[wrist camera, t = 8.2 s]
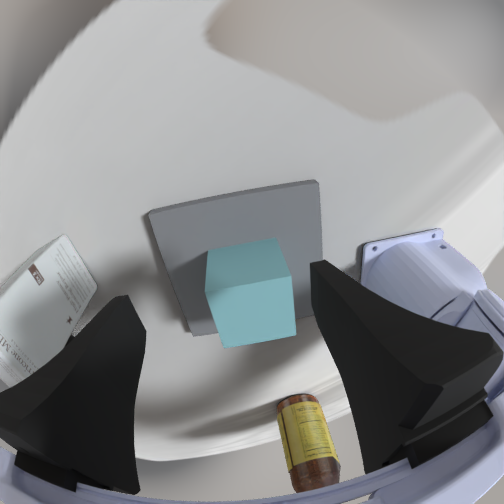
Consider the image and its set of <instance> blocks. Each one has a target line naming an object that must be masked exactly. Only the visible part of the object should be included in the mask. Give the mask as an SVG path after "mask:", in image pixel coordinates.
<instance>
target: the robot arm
mask: <svg viewBox="0 0 504 504" xmlns="http://www.w3.org/2000/svg"><path fill="white" fill-rule="evenodd" d="M443 234H444V232H443V230H442V229H441V228H438V229H434V230H429V231H424V232H419V233H415V234H410V235H405V236H400V237H395V238H390V239H385V240H381V241H376V242H371V243H367V244H366V245H365V246H364V248H363V259H362V273H361V284H360V283H358V282H357V281H355V280H354V279H352V278H351V277H349V276H348V275H346V274H345V273H343V272H342V271H341V270H339V269H338V268H336V267H335V266H333V265H332V264H331V263H329V262H328V261H326V260H322V261H317V262H312V263H310V283H311V305H312V308H313V312H314V315H315V318H316V321H317V324H318V327H319V329H320V331H321V333H322V336H323V338H324V340H325V342H326V344H327V346H328V349H329V351H330V353H331V355H332V357H333V359H334V362H335V364H336V366H337V368H338V370H339V373H340V375H341V378H342V381H343V384H344V387H345V391H346V394H347V397H348V400H349V404H350V408H351V411H352V415H353V418H354V422H355V427H356V431H357V435H358V439H359V444H360V449H361V454H362V459H363V465H364V471H365V474H366V475H363V476H360V477H357V478H354V479H351V480H348V481H344V482H341V483H338V484H334V485H330V486H327V487H323V488H319V489H315V490H310V491H306V492H301V493H296V494H290V495H284V496H278V497H271V498H263V499H254V500H242V501H223V502H193V501H174V500H163V499H153V498H146V497H139V496H133V495H135V494H137V493H138V492H139V491H140V485H139V481H138V475H137V468H136V460H135V449H134V408H135V399H136V394H137V388H138V383H139V378H140V373H141V369H142V364H143V359H144V354H145V345H146V330H145V328H144V326H143V324H142V322H141V320H140V318H139V316H138V314H137V312H136V310H135V309H134V307H133V305H132V303H131V300H130V298H129V296H128V295H124V296H118V297H115V298H113V299H112V300H111V301H110V302H109V303H108V304H107V305H106V306H105V307H104V308H103V309H102V310H101V311H100V312H99V313H98V314H97V315H96V316H95V317H94V318H93V319H92V320H91V321H90V322H89V323H88V324H87V325H86V326H85V327H84V328H83V329H82V330H81V331H80V332H79V333H78V334H77V335H76V336H75V337H74V338H73V340H72V341H71V342H70V343H69V344H68V345H67V346H66V347H64V348H63V349H62V350H61V351H60V352H59V353H58V354H57V355H56V356H54V357H53V358H52V359H51V360H50V361H49V362H47V363H46V364H45V365H43V366H42V367H41V368H39V369H38V370H37V371H36V372H34V373H33V374H32V375H30V376H29V377H27V378H26V379H24V380H22V381H21V382H19V383H18V384H16V385H14V386H12V387H11V388H9V389H7V390H5V391H3V392H1V393H0V438H1V439H3V440H4V441H5V442H6V443H8V444H9V445H10V446H12V447H13V448H15V449H16V450H17V455H15V454H13V453H11V452H9V451H7V450H6V449H4V448H2V447H0V500H1V501H2V502H4V503H5V504H341V503H344V502H347V501H350V500H354V499H357V498H360V497H362V496H366V495H368V494H371V493H372V494H371V495H370V497H369V499H368V501H365V502H362V503H359V504H474V503H475V502H476V501H477V500H478V499H479V498H480V497H482V496H483V495H484V494H485V493H486V492H487V491H488V490H489V489H490V488H491V487H492V486H493V485H494V484H495V483H496V482H497V481H498V480H499V479H500V478H501V477H502V476H503V475H504V301H503V300H502V299H501V298H499V297H498V296H497V295H496V294H495V293H493V292H492V291H491V290H489V289H487V286H486V283H485V280H484V277H483V275H482V274H481V272H480V271H479V269H478V268H477V267H476V266H475V265H474V264H473V263H471V262H470V261H469V260H468V259H467V258H466V257H464V256H463V255H462V254H461V253H460V252H458V251H457V250H456V249H455V248H453V247H452V246H451V245H450V244H448V243H447V242H446V241H445V240H443ZM374 246H375V248H374V249H373V247H374ZM104 489H106V490H104ZM108 490H110V491H108ZM112 491H116V492H112ZM117 492H121V493H117ZM122 493H126V494H122ZM127 494H132V495H127Z"/></svg>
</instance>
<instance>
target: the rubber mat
mask: <svg viewBox="0 0 504 504" xmlns="http://www.w3.org/2000/svg"><path fill="white" fill-rule="evenodd" d="M148 216H149V219H150V222H151V225H152V228H153V231H154V235H155V238H156V241H157V244H158V247H159V249H160V252H161V255H162V258H163V261H164V264H165V267H166V269H167V272H168V275H169V278H170V280H171V283H172V286H173V288H174V291H175V293H176V296H177V299H178V301H179V304H180V306H181V309H182V311H183V314H184V316H185V318H186V321H187V323H188V326H189V328H190V330H191V333H192V335H193V337H194V336H201V335H209V334H215V333H218V330H217V327H216V324H215V321H214V318H213V316H212V313H211V310H210V307H209V304H208V301H207V298H206V294H205V281H206V268H207V256H208V250H212V249H217V248H223V247H228V246H233V245H239V244H244V243H249V242H254V241H260V240H265V239H271V238H276V239H277V241H278V244H279V246H280V249H281V251H282V254H283V256H284V259H285V261H286V264H287V266H288V269H289V271H290V274H291V278H292V289H293V300H294V312H295V319H299V318H303V317H308V316H312V315H314V312H313V308H312V305H311V283H310V263H312V262H317V261H322V260H323V257H322V227H321V207H320V192H319V183H318V182H317V181H316V180H307V181H300V182H293V183H286V184H280V185H274V186H267V187H261V188H256V189H250V190H244V191H239V192H233V193H228V194H223V195H217V196H212V197H207V198H203V199H198V200H193V201H188V202H184V203H179V204H175V205H170V206H166V207H162V208H157V209H153V210H151V211H150V213H149V214H148Z"/></svg>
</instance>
